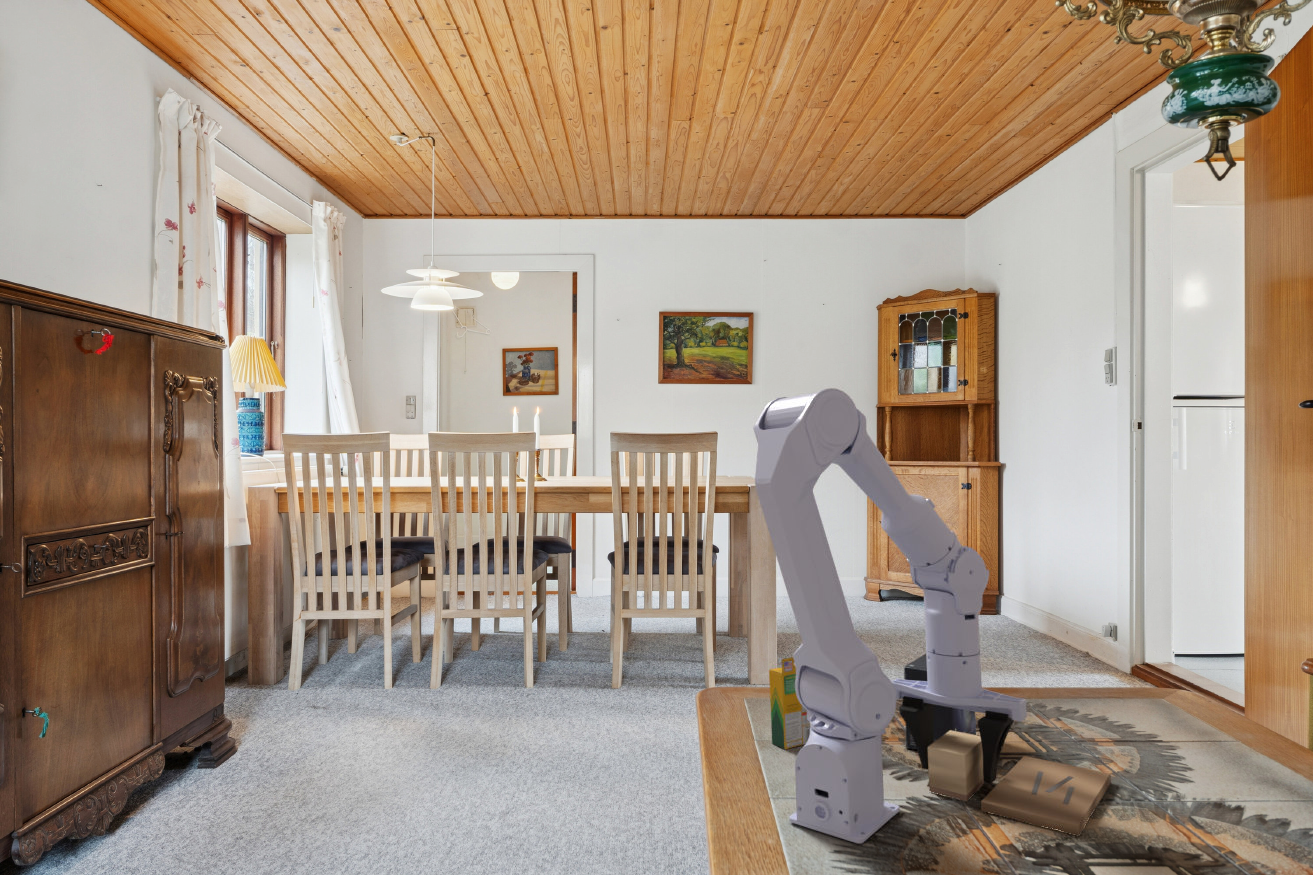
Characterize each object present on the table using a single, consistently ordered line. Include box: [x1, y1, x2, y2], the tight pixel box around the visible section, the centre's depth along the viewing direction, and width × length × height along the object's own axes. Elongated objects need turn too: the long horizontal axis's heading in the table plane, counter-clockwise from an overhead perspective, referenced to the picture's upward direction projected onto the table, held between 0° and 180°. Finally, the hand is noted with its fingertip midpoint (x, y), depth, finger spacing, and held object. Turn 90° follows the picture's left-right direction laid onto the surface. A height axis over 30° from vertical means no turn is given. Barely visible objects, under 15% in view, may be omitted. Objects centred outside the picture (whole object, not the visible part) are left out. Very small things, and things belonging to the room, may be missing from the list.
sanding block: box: [928, 730, 985, 802], centre depth 85 cm, size 7×4×5 cm, turn 139°
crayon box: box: [768, 656, 810, 751], centre depth 100 cm, size 7×3×12 cm, turn 120°
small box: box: [903, 653, 977, 750], centre depth 99 cm, size 11×6×10 cm, turn 143°
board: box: [980, 755, 1112, 837], centre depth 81 cm, size 16×9×1 cm, turn 139°
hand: (958, 773), depth 85 cm, fingers open, 6 cm apart
